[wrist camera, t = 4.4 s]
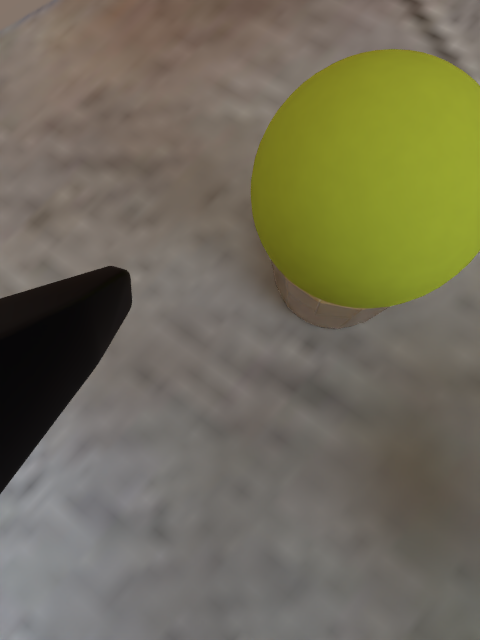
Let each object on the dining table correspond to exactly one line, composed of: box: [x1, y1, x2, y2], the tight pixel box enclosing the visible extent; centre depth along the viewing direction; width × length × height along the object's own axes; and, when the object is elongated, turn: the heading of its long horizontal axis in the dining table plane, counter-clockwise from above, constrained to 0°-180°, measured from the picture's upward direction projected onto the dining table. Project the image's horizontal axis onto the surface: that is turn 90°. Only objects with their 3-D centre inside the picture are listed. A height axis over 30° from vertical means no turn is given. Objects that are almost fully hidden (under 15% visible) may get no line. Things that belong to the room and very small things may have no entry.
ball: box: [251, 49, 480, 308], centre depth 11 cm, size 6×6×6 cm
